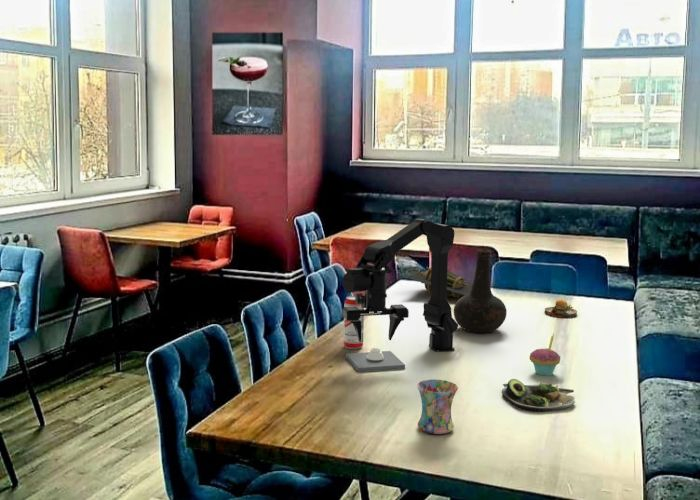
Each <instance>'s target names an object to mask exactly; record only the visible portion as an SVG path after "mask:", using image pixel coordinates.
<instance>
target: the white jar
mask: <svg viewBox="0 0 700 500" xmlns="http://www.w3.org/2000/svg"><path fill="white" fill-rule="evenodd" d="M368 352H369V353H368V355H367V359H369V360H372V361H380V360H382V359H384V356H383V354H382V352H381V349H380V348H378V347H377V348H376V347H373V348H370V350H369V351H368Z"/></svg>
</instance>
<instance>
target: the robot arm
mask: <svg viewBox="0 0 700 500" xmlns="http://www.w3.org/2000/svg"><path fill="white" fill-rule="evenodd" d="M422 235H424V236H426V243H427V246H428V248H429V250H430V252H431V267H430V268H431V293H430V298H429V299H428V301H427V302H423V313H422V316H423V317H424V321H425V322H426V325H427V328H429V329H431V330H430V333H429V336H428V337H429V339H428V340H429V341H428V347H429V348H431V349H432V350H433V351H435V352H445V351H447V352H448V351H455V347H453V346H454V345H453V340H454V333H455V332H457V331H458V327H459V324H458V323H457V322H456V320H455V318H453V316H452V306H451V305H450V303H449V300H448V298H447V296H448V295H447V270H448V265H449V264H448V260H449V259H448V257H449V253H450V250H451V249H452V247H453V245H454V240H455V229H454V228H453V227H452V226H450V225H448V224H441V223H438V222H437V223H436V222H432V221H429V220H427V219H425V218H424V219H423V218H416V219H413V220H412V222H410V223H409V224H408V225H406V226H404V227H403V228H402V229H400V230H399V231H397V232H396V233H394V234H393V235H391V236H390V237H388V238H387V239H384V240H381V241H376V242H374V243H371V244H369V245H368V246H367V247H365V249H364V253H363V254H362V256H361V257H360V259H359V262H358V263H357V264H356V266H355V268H350V267H349V268H347V269H346V270H347V271H346V273H345V274H344V275H343V279H342V283H341V284H342V288H343V289H344V291H345V292H346V293H347V294H352V293H353V294H354V293H355V295H354V296H355V303H356V304H361V307H362V308H364V309H362V310H359V309H358V308H357V307H356V306H354V307H343V309H342V317H343V319H344V318H345V319H346V320H349V321H350V322H351V323H353V325H354V328H355V331H356V334H357V337H358V340H359V342H361V320H359V318H360V316H364V317H369V316H370V317H371V316H386V315H387V316H388V317H389V324H388V325H389V326H388V341H392V339H393V337H394V334H395V332H396V330H397V329H398V327H399V325H400V324H401V322H403V321H405V319H406V318H409V314H410V313H409V309H408V308H407V307H406V306H405V305H403V304H390V307H389V308H387V307H386V298H388V293H387V274H392V273H393V272H394V271H393V270H392V269H391V268H390V266H388V265H389V264H390V263H392V261H394V259H395V257H396V255H397V254H398V252H399V251H401V250H403V249H404V248H405V247H407V246H408V245H409V244H411V243H412V242H414V241H415V240H416V239H418V238H420V237H421V236H422ZM359 292H360V293H359ZM362 292H364V294H363V293H362Z"/></svg>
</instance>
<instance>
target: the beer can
mask: <svg viewBox="0 0 700 500" xmlns="http://www.w3.org/2000/svg"><path fill="white" fill-rule="evenodd" d="M345 298H346V299H345V300H344V305H343V306H344V307H354V306H356V307H357V308H358V309H359V310H362V309H365V308H362V307H361V304H356V303H355V295H348V296H346V297H345ZM344 307H343V308H344ZM364 319H365V316H360V318H359V320H361V342H359V340H358V337H357V334H356V331H355V328H354V325H353V323H351V322H350V321H349V320H346V319H345V318H344V317H343V346H344V347H345V348H346V349H348V350H361V348H362V347H363V345H364V324H365V323H364V322H365V320H364Z"/></svg>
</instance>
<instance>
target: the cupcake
mask: <svg viewBox="0 0 700 500" xmlns="http://www.w3.org/2000/svg"><path fill="white" fill-rule="evenodd" d="M554 335H555V333H553V334H552V335H551V337H550V341H549V345H548V348H537V349H534V350H533V351H531V353H530V354H529V360H530V362H531V363H532V364H533V367H534V371H535V374H537V375H539V376H545V377H546V376H548V377H549V376H552V375H553V374H554V372H555V369H556V367H557V365H559V364H560V362H561V356H560V355H559V354H558V352H556V351H555V350H553V349H552V346H553V342H554Z"/></svg>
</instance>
